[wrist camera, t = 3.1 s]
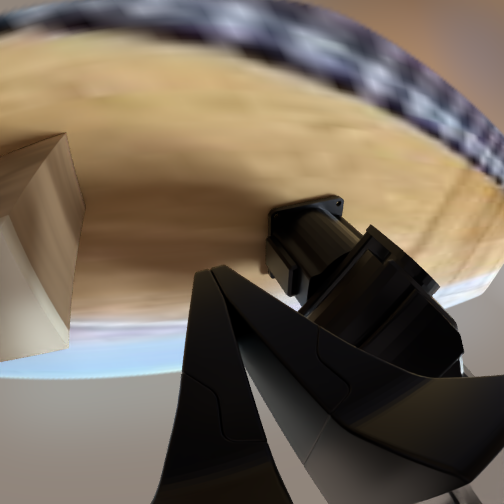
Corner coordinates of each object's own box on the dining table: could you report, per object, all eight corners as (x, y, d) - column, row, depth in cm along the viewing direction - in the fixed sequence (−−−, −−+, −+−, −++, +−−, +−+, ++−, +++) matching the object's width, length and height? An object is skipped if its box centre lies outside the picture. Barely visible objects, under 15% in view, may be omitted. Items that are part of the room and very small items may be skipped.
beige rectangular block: (66, 132, 14) (0, 228, 6) (85, 207, 17) (68, 348, 9) (-4, 158, 13) (-95, 270, 5) (21, 227, 16) (-26, 366, 8)
